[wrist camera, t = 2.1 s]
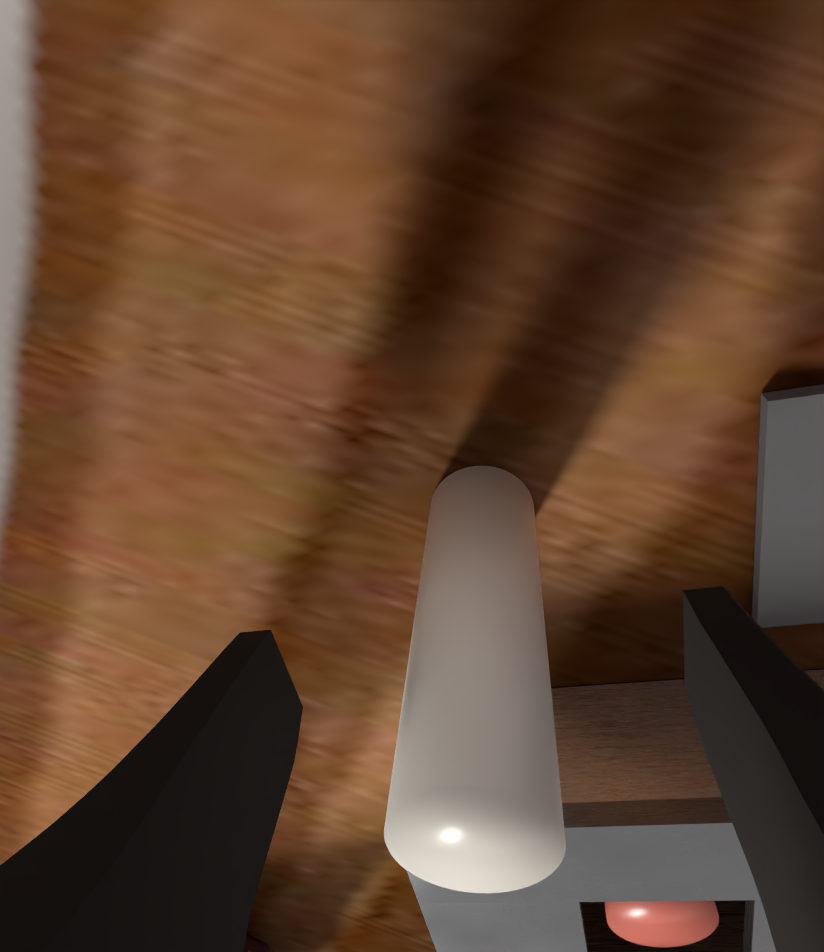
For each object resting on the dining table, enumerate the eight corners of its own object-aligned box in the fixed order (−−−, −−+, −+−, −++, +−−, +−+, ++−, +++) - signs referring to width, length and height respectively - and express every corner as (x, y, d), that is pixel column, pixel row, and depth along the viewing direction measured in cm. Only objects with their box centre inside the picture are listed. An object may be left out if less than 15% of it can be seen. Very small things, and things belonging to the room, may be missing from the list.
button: (702, 827, 18) (719, 888, 17) (702, 886, 19) (718, 947, 18) (594, 830, 19) (602, 890, 17) (602, 886, 20) (610, 947, 19)
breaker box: (877, 666, 17) (973, 815, 14) (839, 889, 22) (903, 1041, 18) (410, 697, 19) (392, 833, 16) (469, 894, 24) (465, 1029, 21)
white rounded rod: (527, 458, 15) (555, 782, 8) (540, 546, 16) (573, 892, 9) (421, 473, 16) (364, 789, 9) (440, 556, 17) (405, 894, 10)
